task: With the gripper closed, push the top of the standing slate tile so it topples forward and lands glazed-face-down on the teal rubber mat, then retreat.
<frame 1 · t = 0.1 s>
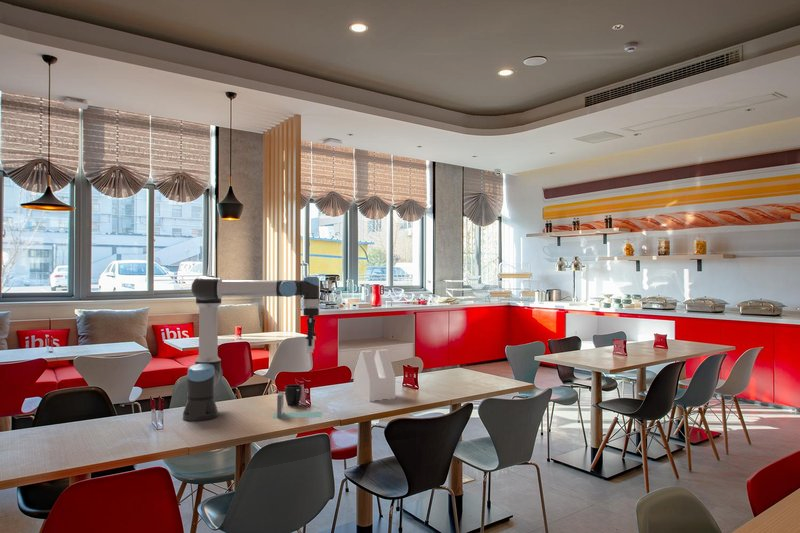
hand: (310, 350, 271), 28 cm above the table, fingers open, 13 cm apart
tile: (280, 415, 253), resting on mat
white slotted block: (374, 397, 296), on the table
mug: (294, 406, 274), on the table
mat: (297, 415, 254), on the table
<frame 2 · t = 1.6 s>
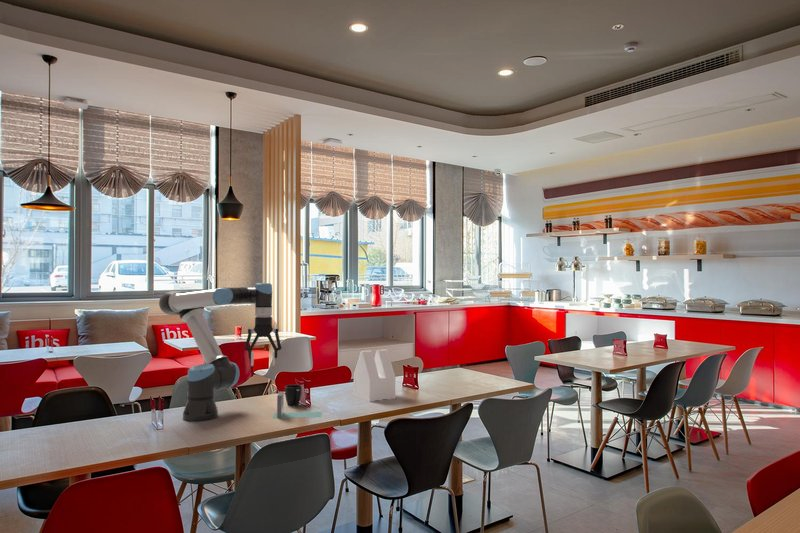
hand: (263, 365, 253), 23 cm above the table, fingers open, 9 cm apart
nothing on the table moved.
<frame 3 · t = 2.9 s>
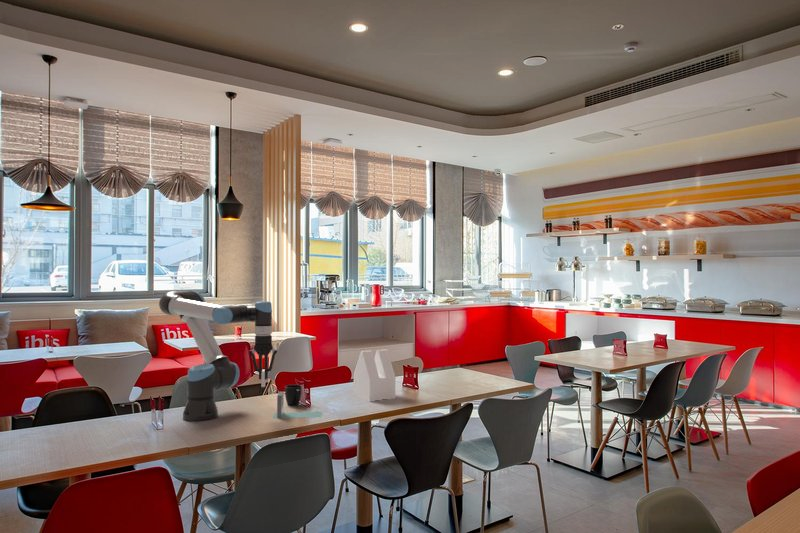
hand: (263, 386, 253), 14 cm above the table, fingers closed
nothing on the table moved.
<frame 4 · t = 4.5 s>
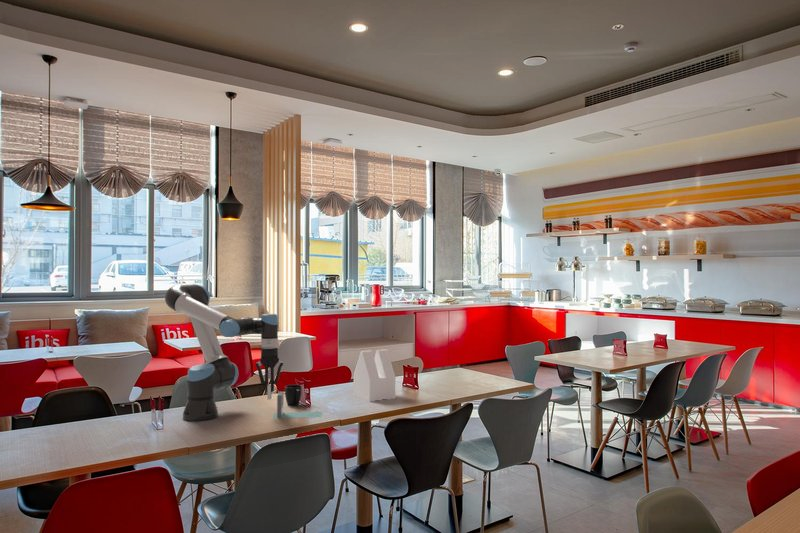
hand: (269, 398, 253), 8 cm above the table, fingers closed
nothing on the table moved.
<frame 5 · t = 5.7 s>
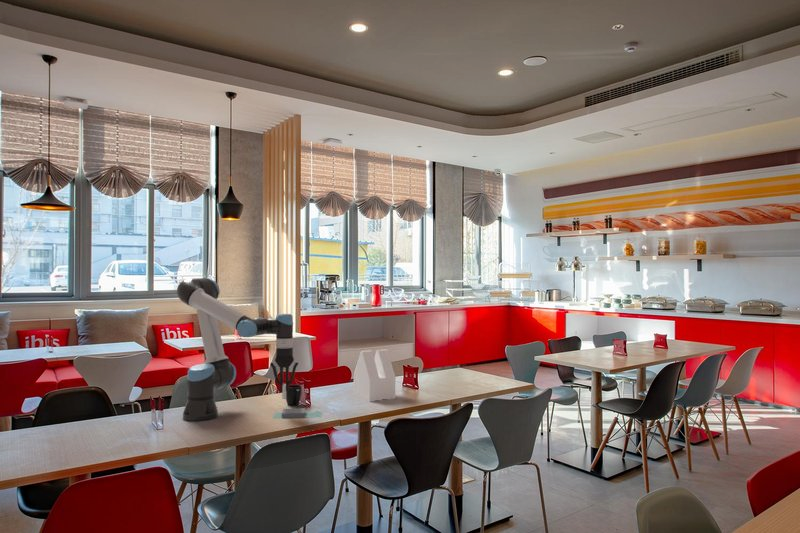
hand: (284, 398, 254), 8 cm above the table, fingers closed
tile: (282, 413, 253), point 1 cm above the table, tilted 90°, touching mat
everything else where it was.
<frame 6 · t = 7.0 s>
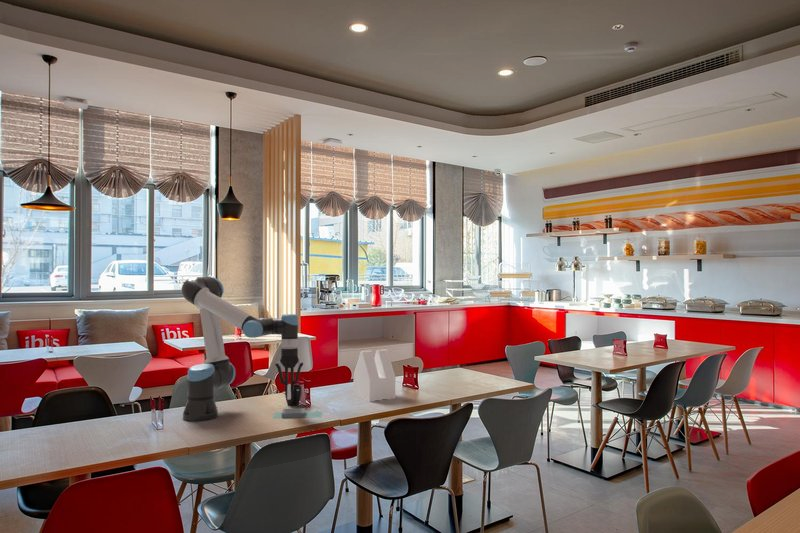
hand: (289, 398, 254), 8 cm above the table, fingers closed
nothing on the table moved.
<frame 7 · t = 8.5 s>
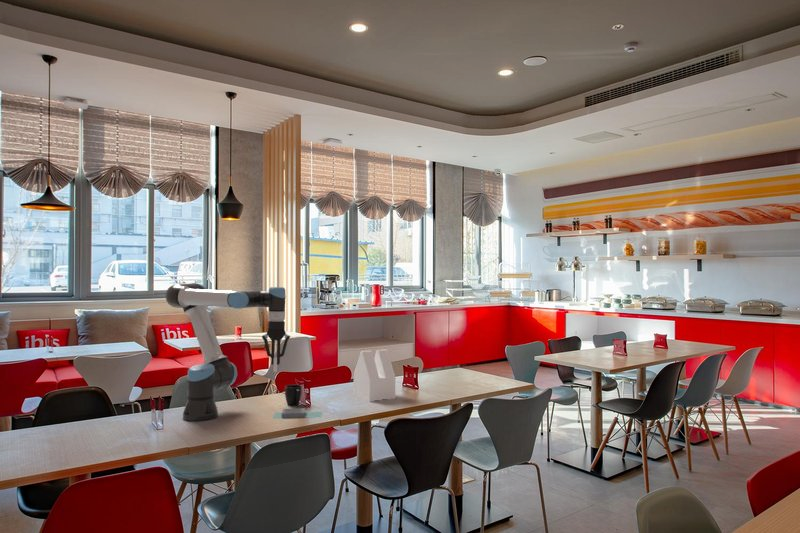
hand: (275, 371, 254), 21 cm above the table, fingers closed
nothing on the table moved.
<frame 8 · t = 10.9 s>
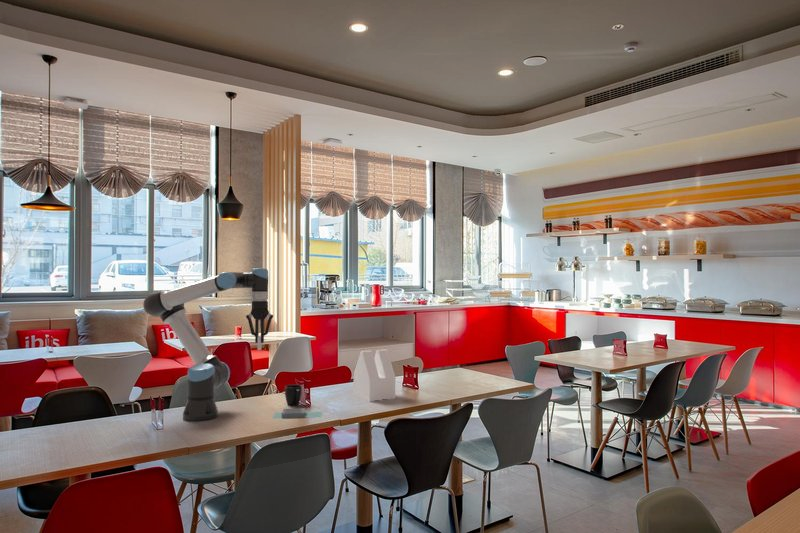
hand: (259, 349, 263), 29 cm above the table, fingers closed
nothing on the table moved.
at the end: tile tilted 90°; tile inside the target area on the mat (6.9 cm from its centre), point 1.4 cm above the mat's base; the gripper is holding nothing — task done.
